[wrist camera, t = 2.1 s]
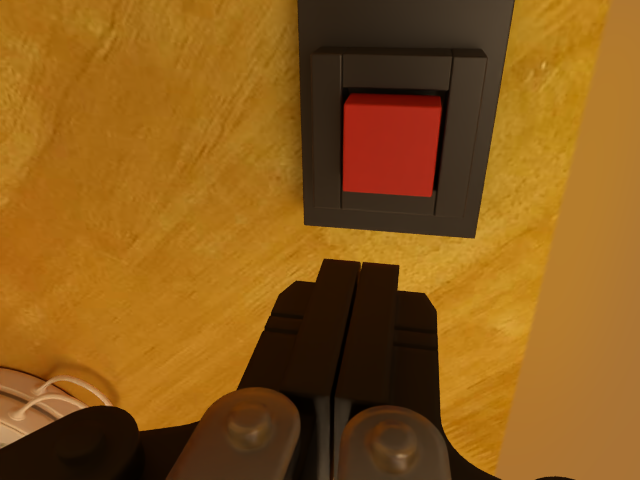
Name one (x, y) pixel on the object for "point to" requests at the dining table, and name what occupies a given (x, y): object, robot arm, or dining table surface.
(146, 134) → the dining table surface
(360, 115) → the red button cap
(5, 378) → the lotus flower trinket box
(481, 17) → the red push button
